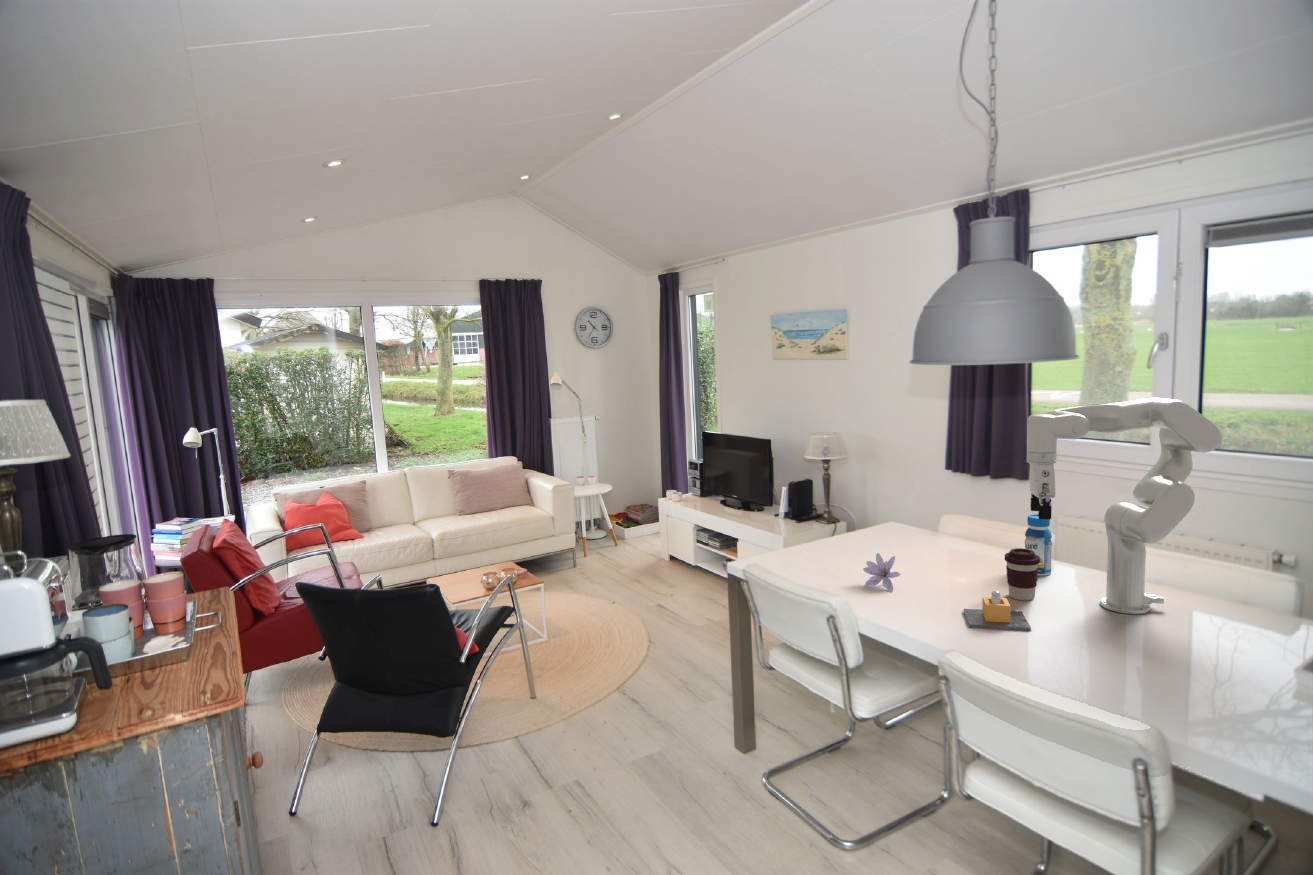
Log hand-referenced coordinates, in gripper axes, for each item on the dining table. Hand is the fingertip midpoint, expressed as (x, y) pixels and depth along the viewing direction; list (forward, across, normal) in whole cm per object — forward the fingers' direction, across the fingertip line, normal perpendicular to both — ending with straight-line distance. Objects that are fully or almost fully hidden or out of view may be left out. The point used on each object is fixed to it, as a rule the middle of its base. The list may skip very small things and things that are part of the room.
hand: (1040, 514), depth 206 cm
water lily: (+31, +19, +45) cm, 57 cm away
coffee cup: (+31, +14, +2) cm, 34 cm away
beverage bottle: (+31, +39, -8) cm, 50 cm away
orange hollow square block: (+29, -7, +13) cm, 33 cm away
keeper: (+30, -7, +13) cm, 34 cm away
